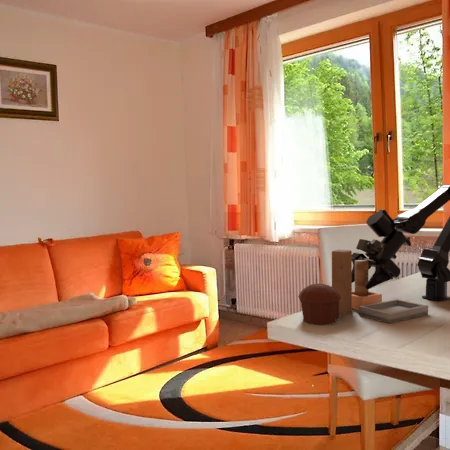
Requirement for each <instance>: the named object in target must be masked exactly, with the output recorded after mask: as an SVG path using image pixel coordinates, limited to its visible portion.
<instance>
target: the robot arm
mask: <svg viewBox="0 0 450 450" xmlns="http://www.w3.org/2000/svg"><path fill="white" fill-rule="evenodd" d="M449 201H450V184H442V185H441V186H440V187H439V188H438V189H437V190H436V191H435V192H434V193H433V194H431V195H430V196H429V197H427V198H426V199H425V200H423V201H422V202H421V203H420V204H418V205H417V206H415V208H411V209H409V210H407V211H404V212H403V213H399V214H398V215H397V216H396V217H395V218H392V217H391V216H390V214H389V213H388V211H386V210H385V209H382V208H381V209H379V211H377V212H374V213H373V214H372V215H369V217H367V220H366V221H365V222H366V225H367V226H368V228H370V229H371V230H372V231H373V233H374V234H375V235H376V236H377V237H378V238H382V237H383V238H382V239H381V241H380V240H378V239H374V238H373V239H372V240H368V239H363V238H359V240H358V243H357V245H356V247H355V250H358V251H359V250H360V251H362V252H364V253H362V252H353V253H352V283H355V260H367V261H368V271H369V270H370V269H371V267H372V268H374V273H372V276H370V279H368V283H367V285H366V286H365V287H366V289H368V290H369V289H372V288H375V287H376V286H378V285H381V284H383V283H386V282H388V281H390V280H391V281H393V279H396V280H397V279H398V277H400V275H401V268H400V267H399V266H398V265H397V264H396V263H395V262H394V260H395V259H397V257H398V256H397V255H396V254H397V253H398V252H399V250H400V249H401V248H402V246H406V247H411V246H412V242H411V237H409V236H406V235H405V234H411V235H416V234H417V233H419V231H420V230H421V229H423V227H424V226H425V224H426V221H427V219H428V218H429V217H431V216H432V215H433V214H435V213H436V212H437V211H438V210H439V209H441V208H442V207H443V206H444V205H445V204H447V203H448V202H449ZM449 253H450V216H448V218H447V221H446V222H445V224H444V226H443V228H442V230H441V231H440V233H439V235H438V237H437V239H436V241H435V242H434V244H433V245H432V247H431V248H424V249H422V251H421V254H420V255H419V257H418V258H417V260H418V262H417V267H418V271H419V272H420V275H421V278H422V279H423V278H424V279H426V281H425V282H426V283H425V295H422V296H421V298H423V299H428V300H433V301H437V302H440V301H446V300H450V296H448V282H450V269H449V267H448V265H449V263H450V259H449ZM392 259H393V260H392Z"/></svg>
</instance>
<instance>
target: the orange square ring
mask: <svg viewBox="0 0 450 450" xmlns="http://www.w3.org/2000/svg"><path fill="white" fill-rule="evenodd" d="M378 302H383V293H378V292H373V291H369V290H368V296H363V297H361V296H357V295H355V290H352V309H353V310H356V311H359V306H363V305H368V304H373V303H378Z"/></svg>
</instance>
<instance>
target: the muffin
mask: <svg viewBox="0 0 450 450" xmlns="http://www.w3.org/2000/svg"><path fill="white" fill-rule="evenodd" d="M298 299H299V301H300V306H301V313H302V319H303V321H304V323H306V324H309V325H315V326H316V325H317V326H325V325H326V324H327V325H332V324H334V323H336V322H337V318H338V317H337V311H338V305H339V301H340V299H341V297H340V295H339V293H338V292H337V291H336V290H335V289H334V288H332V285H331V286H330V284H329V285H328V284H325V283H313V284H309V285H307V286H305V287H304V288H303V289H302V290H301V291H300V293H299V294H298Z"/></svg>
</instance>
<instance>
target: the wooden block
mask: <svg viewBox="0 0 450 450" xmlns="http://www.w3.org/2000/svg"><path fill="white" fill-rule="evenodd" d="M352 254H353V253H352V250H351V249H350V250H349V249H335V250H332V251H331V287H332V288H334V289H335V290H336V291H337V292H338V293H339V295H340V297H341V299H340V301H339V305H338V311H337V317H336V318H340V317H341V316H344V315H346V314H347V313H349V312H352V291H353V290H352V289H353V288H352V286H353V285H352V269H353V262H352Z"/></svg>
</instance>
